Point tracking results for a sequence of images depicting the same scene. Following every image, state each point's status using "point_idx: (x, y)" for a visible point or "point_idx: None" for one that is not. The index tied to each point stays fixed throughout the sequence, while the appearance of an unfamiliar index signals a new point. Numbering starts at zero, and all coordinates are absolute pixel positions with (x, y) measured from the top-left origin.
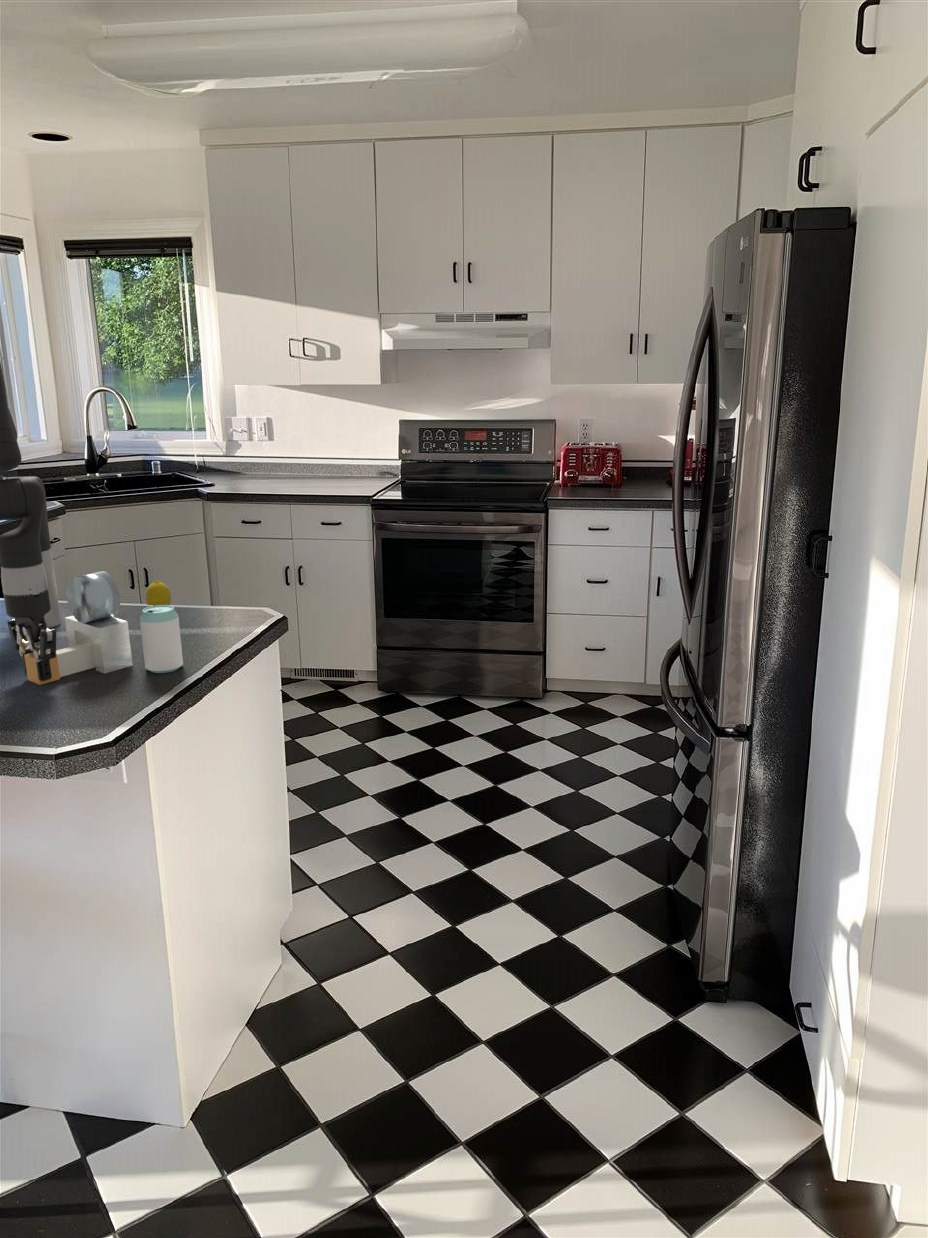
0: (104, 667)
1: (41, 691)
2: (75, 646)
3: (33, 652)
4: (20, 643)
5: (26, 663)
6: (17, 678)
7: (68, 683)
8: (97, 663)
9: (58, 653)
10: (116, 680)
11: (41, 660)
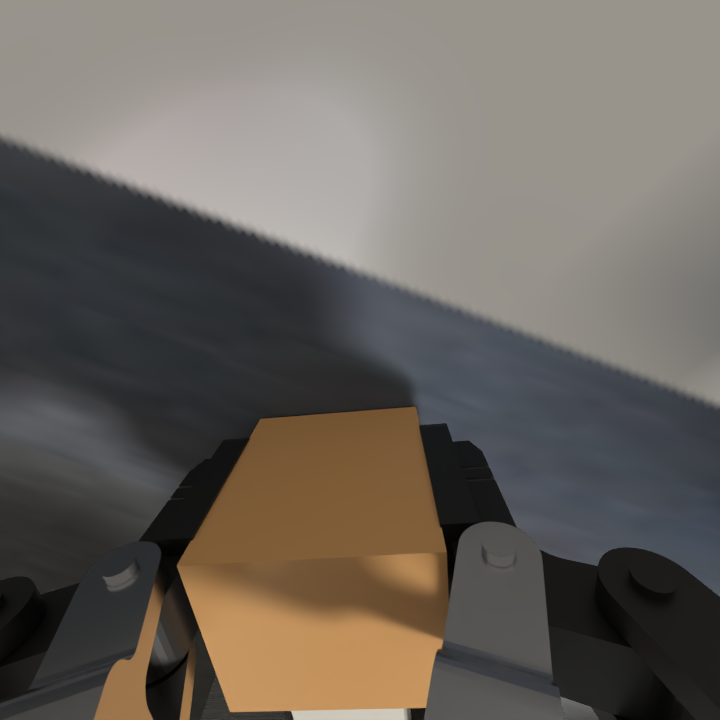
0: (207, 705)
1: (130, 380)
2: None
3: (441, 628)
4: (427, 717)
5: (411, 486)
6: (508, 374)
7: None
8: (260, 714)
9: (312, 712)
10: None
11: (29, 580)
